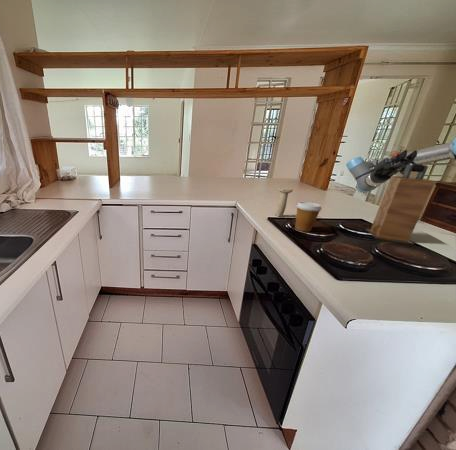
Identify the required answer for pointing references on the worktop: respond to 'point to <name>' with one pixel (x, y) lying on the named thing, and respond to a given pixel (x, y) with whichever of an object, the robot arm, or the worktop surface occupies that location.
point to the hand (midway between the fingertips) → (410, 153)
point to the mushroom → (282, 201)
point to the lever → (409, 163)
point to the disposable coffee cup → (306, 215)
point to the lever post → (401, 206)
